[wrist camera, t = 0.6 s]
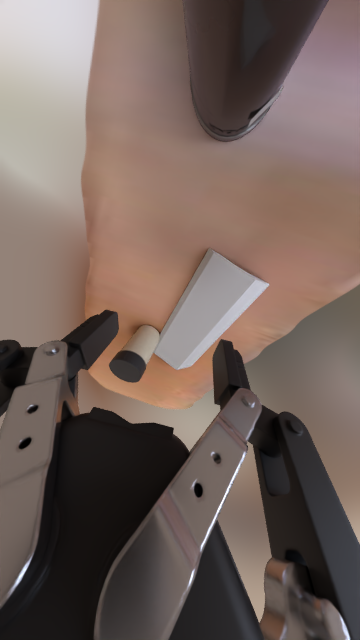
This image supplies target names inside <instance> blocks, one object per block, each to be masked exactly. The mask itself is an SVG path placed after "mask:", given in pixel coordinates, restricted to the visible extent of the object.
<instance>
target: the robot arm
mask: <svg viewBox="0 0 360 640" xmlns="http://www.w3.org/2000/svg"><path fill="white" fill-rule="evenodd" d="M182 1H183V10H184V19H185V28H186V38H187V47H188V56H189V66H190V82H191V92H192V100H193V104H194V108H195V112H196V115H197V117H198V119H199V122H200V123H201V125H202V127H203V128H204V129H205V131H206V132H207V133H208V134H209V135H210V136H212V137H213V138H215V139H217V140H221V141H232V140H236V139H239V138H241V137H243V136H244V135H246V134H247V133H249V132H250V131H251V130H252V129H254V128H255V127H256V126H257V125H258V123H259V122H260V121H261V120H262V119H263V117H264V116H265V115H266V113H267V112H268V110H269V109H270V107H271V105H272V104H273V102H274V101H275V100H276V99H277V98H278V96H279V94H280V93H281V91H282V89H283V88H284V87H283V88H282V89H281V90H280V88H281V86H282V84H283V82H284V80H285V78H286V76H287V75H288V73H289V71H290V69H291V68H292V66H293V64H294V62H295V60H296V58H297V57H298V55H299V53H300V51H301V49H302V48H303V46H304V44H305V42H306V40H307V39H308V37H309V35H310V33H311V31H312V30H313V28H314V26H315V24H316V22H317V20H318V19H319V17H320V15H321V13H322V11H323V10H324V8H325V6H326V4H327V2H328V1H329V0H182ZM279 90H280V91H279ZM118 330H119V325H118V314H117V312H114V311H110V310H105V311H103V312H102V313H101V314H100V315H98V314H97V315H95V316H92V317H90V318H89V319H87V320H86V321H85V322H84V323H82V324H81V325H80V326H79V327H77V328H76V329H75V330H73V331H72V332H71V333H70V334H68V335H67V336H66V337H65V338H63V339H62V340H61V341H59V340H58V341H51V342H47V343H44V344H42V345H41V346H39V347H21V346H20V344H19V343H18V342H17V341H15V340H2V341H0V416H1V415H3V413H4V412H6V411H7V412H6V415H5V418H4V420H3V424H2V426H1V429H0V640H360V544H359V542H358V540H357V538H356V536H355V533H354V531H353V529H352V527H351V524H350V522H349V520H348V518H347V516H346V514H345V511H344V509H343V507H342V504H341V502H340V500H339V498H338V496H337V494H336V491H335V489H334V487H333V485H332V482H331V480H330V478H329V476H328V474H327V471H326V469H325V467H324V465H323V463H322V461H321V458H320V456H319V454H318V452H317V450H316V447H315V445H314V443H313V441H312V438H311V436H310V434H309V432H308V430H307V428H306V427H305V425H304V424H303V423H302V422H301V421H300V420H299V419H298V418H297V417H296V416H294V415H293V414H291V413H289V412H281V413H280V414H277V413H275V412H273V411H272V410H270V409H268V408H266V407H265V406H263V405H262V404H261V402H260V400H259V398H258V397H257V396H256V395H255V394H254V393H253V392H252V391H251V390H250V386H249V382H248V378H247V375H246V371H245V368H244V364H243V360H242V356H241V355H240V353H239V352H238V351H237V350H234V348H233V344H232V342H231V341H227V340H223V339H221V340H220V342H219V344H218V346H217V348H216V350H215V352H214V354H213V360H212V361H213V382H214V402H215V404H217V405H220V409H221V411H220V412H219V413H218V415H217V416H216V418H215V419H214V420H213V421H212V423H211V424H210V425H209V427H208V428H207V429H206V431H205V432H204V433H203V435H202V436H201V437H200V439H199V440H198V441H197V442H196V444H195V445H194V446H193V448H192V449H191V451H190V452H189V450H188V449H187V447H186V446H185V444H184V443H183V442H182V441H181V440H180V439H179V438H178V437H177V436H175V435H174V434H173V430H174V428H172V427H168V426H165V425H160V424H157V423H138V424H132V423H129V422H128V421H126V420H125V419H123V418H122V417H120V416H119V415H117V414H116V413H114V412H112V411H108V410H104V409H100V408H96V407H93V409H92V410H91V412H90V413H84V414H80V413H79V407H78V371H79V370H80V369H81V368H82V369H85V370H88V369H89V368H90V367H91V366H92V365H93V363H94V362H95V361H96V360H97V358H98V357H99V356H100V355H101V354H102V352H103V351H104V350H105V349H106V347H107V346H108V345H109V344H110V343H111V341H112V340H113V339H114V338H115V336H116V335H117V333H118ZM247 441H248V442H250V443H251V444H253V448H254V454H255V460H256V466H257V472H258V478H259V484H260V489H261V495H262V501H263V507H264V513H265V519H266V525H267V531H268V536H269V543H270V548H271V554H272V558H271V559H270V560H269V561H268V562H267V565H266V568H265V574H264V591H265V608H264V613H263V617H262V619H261V621H260V623H259V622H258V619H257V617H256V614H255V611H254V609H253V606H252V604H251V601H250V599H249V597H248V594H247V592H246V589H245V587H244V584H243V582H242V580H241V577H240V574H239V572H238V570H237V567H236V564H235V562H234V559H233V557H232V555H231V552H230V550H229V547H228V545H227V542H226V540H225V537H224V535H223V532H222V530H221V527H220V525H219V522H218V520H217V518H218V516H219V514H220V512H221V509H222V507H223V505H224V503H225V500H226V498H227V496H228V494H229V491H230V489H231V487H232V485H233V483H234V480H235V478H236V476H237V474H238V471H239V469H240V467H241V465H242V462H243V460H244V458H245V456H246V453H247V450H248V446H247Z"/></svg>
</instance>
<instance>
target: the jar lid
mask: <svg viewBox="0 0 360 640" xmlns="http://www.w3.org/2000/svg"><path fill="white" fill-rule="evenodd" d="M109 367H110V370H111V371H112V373H113V374H114V375H116V376H117V377H118V378H120V379H122V380H124V381H127V382H138V381H139V380H140V379H141V377H142V375H143V373H144V371H145V369H146V363H145V361H144V360H143V359H142V357H140V356H139V355H138V354H136V353H134V352H132V351H128V350H122V351H120V352H118V353H117V354H116V356H115V357H114V358H113V359H112V361H111V362H110V364H109Z"/></svg>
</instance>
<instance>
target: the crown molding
mask: <svg viewBox="0 0 360 640" xmlns="http://www.w3.org/2000/svg"><path fill="white" fill-rule="evenodd" d="M268 286H269V284H268V283H266V282H265V281H263V280H262V279H260V278H257V277H255V276H254V275H251V274H249V273H248V272H246V271H244V270H243V269H241V268H239V267H238V266H236V265H234V264H233V263H232V262H230V261H229V260H227V259H226V258H225V257H223V256H222V255H220V254H218V253H217V252H215V251H214V250H212V249H211V248H209V249H208V251H207V253H206V254H205V256H204V258H203V260H202V261H201V263H200V265H199V267H198V268H197V270H196V272H195V274H194V275H193V277H192V279H191V281H190V283H189V284H188V286H187V288H186V290H185V291H184V293H183V295H182V297H181V298H180V300H179V302H178V304H177V305H176V307H175V309H174V311H173V312H172V314H171V316H170V318H169V319H168V321H167V323H166V325H165V326H164V328H163V330H162V332H161V333H160V340H159V343H158V345H157V347H156V349H155V350H154V353H155V354H156V355H157V356H159V357H160V358H161V359H163V360H164V361H165V362H167V363H168V364H169V365H171V366H172V367H173V368H175V369H176V370H178V369H182V368H186V367H190V366H192V365H193V364H194V363H195V362H196V361H197V360H198V359H199V358H200V356H201V355H202V354H203V353H204V352H205V351H206V350H207V349H208V348H209V347H210V346H211V345H212V344H213V343H214V342H215V341H216V340H217V339H218V338H219V337H220V336H221V335H222V334H223V333H224V332H225V331H226V330H227V328H228V327H229V326H230V325H231V324H232V323H233V322H234V321H235V320H236V319H237V318H238V317H239V316H240V315H241V314H242V313H243V312H244V311H245V310H246V309H247V308H248V307H249V306H250V305H251V304H252V303H253V302H254V301H255V299H256V298H257V297H258V296H259V295H260V294H261V293H262V292H263V291H264V290H265V289H266V288H267V287H268Z"/></svg>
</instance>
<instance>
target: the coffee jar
mask: <svg viewBox="0 0 360 640" xmlns="http://www.w3.org/2000/svg"><path fill="white" fill-rule="evenodd" d="M159 340H160V334H159V332H158V331H157V330H156V329H155V328H154V327H152V326H149V325H143V326H140V327H139V328H138V330H137V331H136V332H135V333H134V335H133V336H132V337H131V338H130V340H129V341H128V342H127V343H126V345H125V346H124V347H123V348H122V350H128V351H132V352H134V353H136V354H138V355H139V356H140V357H142V359H143V360H144V361H145V363H146V366H147V364H148V362H149V360H150V358H151V356H152V354H153V352H154V350H155V349H156V347H157V345H158V343H159ZM122 350H121V351H122Z"/></svg>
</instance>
